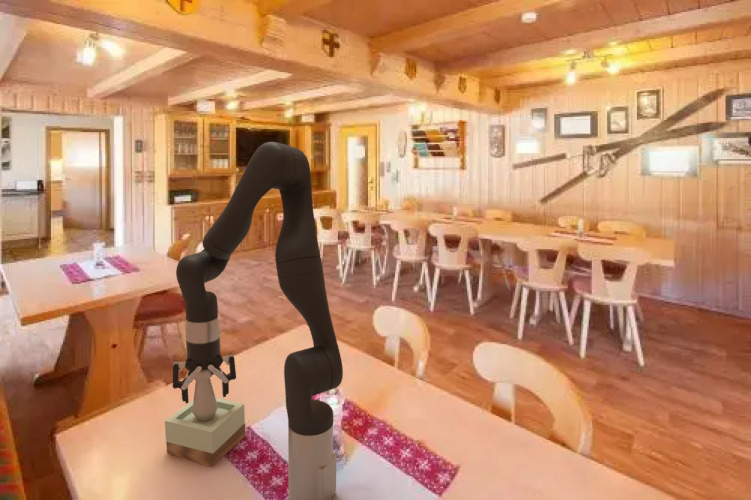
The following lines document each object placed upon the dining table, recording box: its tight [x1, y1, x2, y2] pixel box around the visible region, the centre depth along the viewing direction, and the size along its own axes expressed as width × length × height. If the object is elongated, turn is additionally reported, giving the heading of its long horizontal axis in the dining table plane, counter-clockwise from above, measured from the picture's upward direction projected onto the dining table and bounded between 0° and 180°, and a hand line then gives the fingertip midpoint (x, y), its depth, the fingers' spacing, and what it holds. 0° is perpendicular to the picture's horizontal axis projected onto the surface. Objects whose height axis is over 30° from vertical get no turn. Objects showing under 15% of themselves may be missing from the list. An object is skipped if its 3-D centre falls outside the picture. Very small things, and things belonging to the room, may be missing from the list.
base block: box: [165, 424, 246, 468], centre depth 115 cm, size 13×13×4 cm
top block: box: [164, 396, 246, 454], centre depth 114 cm, size 13×13×6 cm
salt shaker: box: [192, 369, 217, 422], centre depth 112 cm, size 6×6×13 cm
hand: (205, 398), depth 113 cm, fingers open, 8 cm apart
